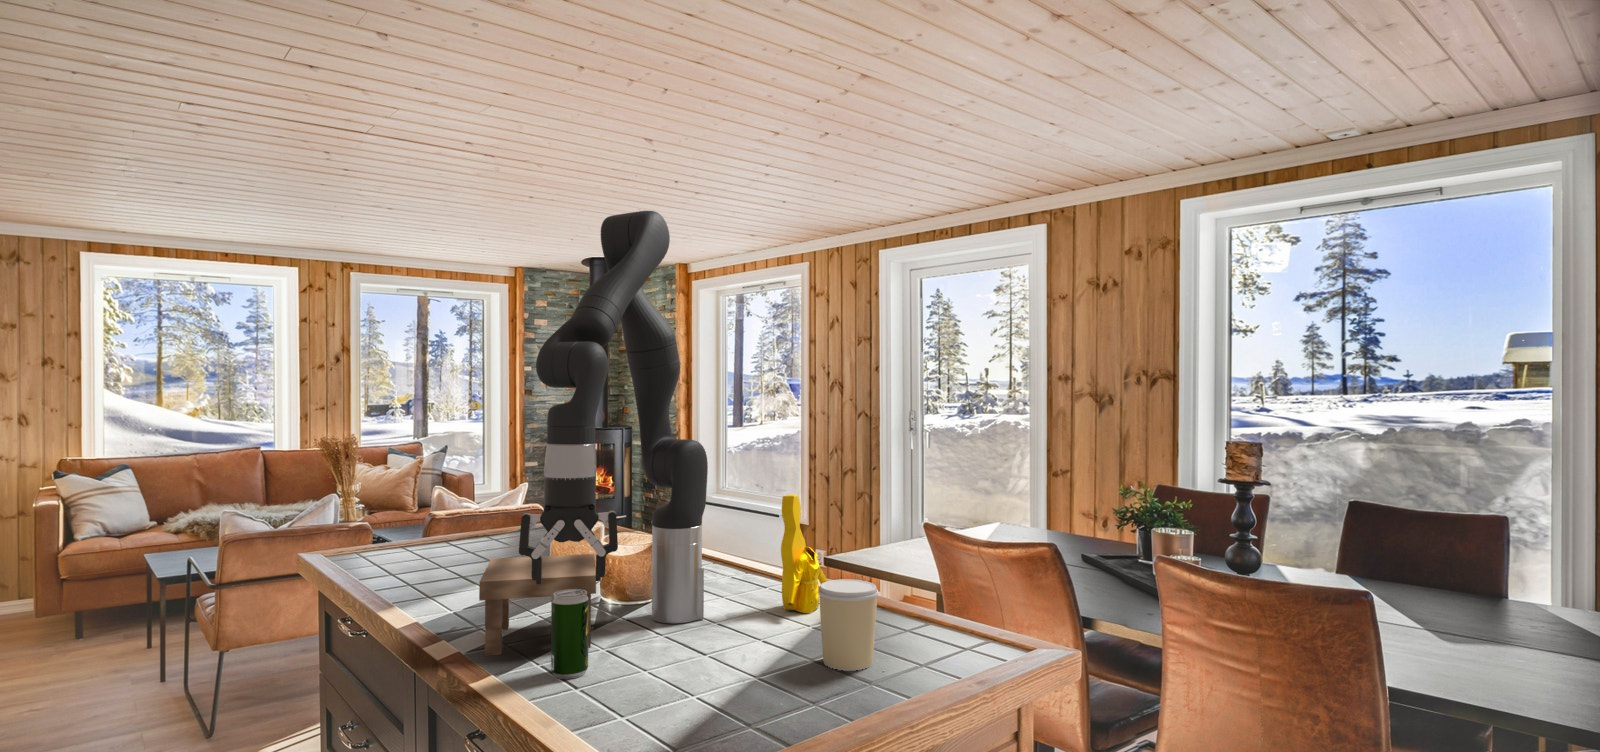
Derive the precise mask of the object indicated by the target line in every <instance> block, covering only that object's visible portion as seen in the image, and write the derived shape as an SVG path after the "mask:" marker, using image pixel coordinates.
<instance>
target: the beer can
mask: <svg viewBox="0 0 1600 752" xmlns="http://www.w3.org/2000/svg"><path fill="white" fill-rule="evenodd" d="M550 610H551V611H550V612H551V613H550V614H551V617H550V618H551V620H550V621H551V625H550V627H551V628H550V629H551V631H550V632H551V633H550V634H551V635H550V637H551V638H550V639H551V640H550V670H551V673H552V676H553V677H554V678H556V679H560V680H569V679H570V680H571V679H576V678H580V677H582V676H584V675H585V674H586V673H587V671H588V669H589V648H588V619H589V598H588V596H587V591H585V590H580V589H568V590H561V591H557V592H555V593H554V594H553V596H552V599H551V609H550Z"/></svg>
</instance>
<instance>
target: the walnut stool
mask: <svg viewBox="0 0 1600 752" xmlns="http://www.w3.org/2000/svg"><path fill="white" fill-rule="evenodd" d="M541 557H542V583H541V584H536V580H532V559H531V558H530V557H528V556H524V557H523V556H521V557H503V558H501V557H499V558H491V559H490V560H489V562H488V565H487V566H486V568H485V570H484V572H483V574H482V576H481V577H480V579H479V584H478V585H479V587H478V588H479V591H478V592H479V593H478V594H479V595H478V596H479V597H478V599H479V601H482V602H483V601H484V656H497V655H499V656H500V655H502V652H503V651H502V650H503V631H505V630H509V628H510V600H512V599H529V598H547V597H553V594H554V593H555V592H557V591H561V590H568V589H580V590H585V591H587V596H588V598H589V619H588V649H589V648H590V649H591V648H592V647H591V646H592V645H591V643H592V642H591V641H592V640H591V639H592V638H591V636H592V634H591V633H592V632H591V631H592V626H591V625H592V624H591V623H592V622H591V621H592V609H591V608H592V602H591V601H592V595H593V594H597V581H596V556H595V553H583V554H565V555H563V554H562V555H545V556H544V555H541Z"/></svg>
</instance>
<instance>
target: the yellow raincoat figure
mask: <svg viewBox="0 0 1600 752" xmlns="http://www.w3.org/2000/svg"><path fill="white" fill-rule="evenodd" d="M801 513H802V506H801V501H800V497H799V494H786V495H782V500H781V516H782V519H783V521H782V522H783V525H784V526H783V527H784V531H783V536H782V540H781V545H780V555H781V562H782V576H781V577H782V579H781V598H782V599H781V600H782V605H783V606H782V607H783V610H785V611H796V612H799V613H803V614H811V613H810V612H812V613H813V612H815V611H816V610H817V608H819V607H820V598H819V593H818V590H819V588H820V586H819V583H820V585H821V584H822V583H824V582H827V581H828V579H827V577H826V575H825V574H824V571H823V570H822V569H821V566H820V564H819V561H818V558H819V555H818V554H817V553H816V552H815V551H814V550H813V548H811V547H810V546H807V545H806V539H805V537H804V535H803V532H802V529H801V525H800V524H801V517H802V515H801ZM814 610H815V611H814Z"/></svg>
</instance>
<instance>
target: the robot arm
mask: <svg viewBox="0 0 1600 752" xmlns="http://www.w3.org/2000/svg"><path fill="white" fill-rule="evenodd" d="M670 235H671V234H670V230H669V226H668V224H667V222H666V220H665V218H664V217H663V216H662V214H660V213H659V212H658V211H655V210H639V211H633V212H625V213H620V214H613V215H609V216H607V217H606V218H604V219H603V221H602V224H601V227H600V242H601V250H602V253H603V258H604V262H605V265H606V269H607V272H605V273H604V274H603V275H602V276H601V277H599V278H598V279H596V281H594V282H593V283H592V284H591V285H590V286H589V287H588V289H586V291H585V293H584V294H583V295H582V297H581V298H580V300H579V302H578V304H577V306H576V308H575V309H574V312H573V313H572V316H571V317H570V318H569V319H568V320H567V321H565V322H564V323H563V324H562V325H561V326H559V328H557V330H555V332H554V333H552V334H551V335H550V336H549V338H547V339H546V341H544V343H543V344H542V346H541V347H540V349H539V351H538V353H537V356H536V360H535V361H536V362H535V370H536V375H537V377H538V379H539V381H540V382H541V383H542V384H543V385H545V386H547V387H550V388H555V389H556V388H557V389H564V388H565V389H574V392H573V395H572V397H571V399H570V400H569V401H567V402H564V403H563V402H562V403H559V404H556V405H552V406H551V407H549V409H548V413H547V419H546V420H547V421H546V422H547V423H546V426H547V427H546V428H547V429H546V431H547V432H546V449H545V455H544V467H543V473H544V475H543V476H544V479H543V480H544V481H543V482H544V483H543V484H544V485H543V491H544V492H543V511H542V513H541V514H540V513H539V514H537V513H536V514H535V513H530V512H524V513H523V514H522V515H521V519H520V520H521V521H520V531H519V533H520V534H519V541H518V542H519V543H518V554H519V555H521V556H524V557H530V558H531V559H532V580H536V584H541V583H542V557H541V556H542V554H543V553H544V552H545V550H546V549H547V548H548V547H550V544H551V543H552V542H553V541H556V542H557V543H566V542H573V543H580V542H581V541H584V540H586V542H587V543H588V544H589V545H590V547H591V548H592V550H594V551H595V553H596V554H595V568H596V582H601V578H605V576H606V557H607V556H608V554H611V553H614V552H617V551H618V550H619V543H618V539H619V538H618V520H617V518H618V517H617V512H616V510H613V509H611V510H609V511H605V512H598V511H597V508H596V503H597V500H596V499H597V497H596V496H597V495H596V494H597V471H598V468H597V453H596V417H597V413H598V408H599V404H600V400H601V397H602V393H603V390H604V387H605V385H606V384H605V383H606V380H607V376H608V373H609V359H608V356H607V352H606V350H605V349H604V347H605V346H606V345H608V344H609V343H610V342H611V340H612V338H613V337H614V334H615V332H616V331H617V329H618V326H619V324H620V323H621V328H622V333H623V339H624V346H625V347H624V348H625V353H626V358H627V363H628V367H629V372H630V377H631V380H632V386H633V393H634V398H635V405H636V410H637V416H638V417H637V418H638V426H639V436H640V437H639V438H640V448H641V449H640V450H641V451H640V452H641V458H642V459H641V460H642V465H643V470H644V475H645V476H646V478H647V480H648V481H649V482H650V484H651V485H653V486H655V487H659V488H660V487H661V488H667V489H671V491H670V492H671V493H670V500H669V501H668V502H667V503H666V504H665V505H663V506H660V507H658V508H655V509H654V510H653V512H652V516H651V517H652V518H651V519H652V520H651V521H652V522H651V523H652V525H651V526H652V527H651V530H652V531H651V532H652V534H651V535H652V536H651V539H652V540H651V541H652V543H651V545H652V547H651V548H652V549H651V558H652V559H651V619H652V620H653V621H655V622H658V623H662V624H686V623H690V622H694V621H698V620H704V614H705V613H704V604H705V603H704V602H705V601H704V599H705V595H704V593H705V591H704V590H705V587H704V585H705V584H704V583H705V576H704V575H705V574H704V572H705V569H704V566H703V565H702V564H703V515H704V512H705V508H706V504H707V492H708V491H707V487H708V473H709V471H708V466H709V465H708V463H709V462H708V455H707V451H706V449H705V446H704V445H702V443H700V442H699V441H697V440H695V439H694V440H693V439H685V438H683V439H681V438H674V437H673V433H672V428H671V420H670V408H671V407H670V406H671V402H672V399H673V397H674V393H675V391H676V387H677V384H678V382H679V378H680V375H681V361H680V354H679V350H678V343H677V338H676V334H675V332H674V330H673V328H672V326H671V325H670V324H669V322H668V321H667V319H666V318H665V317H664V316H663V314H662V313H661V312H660V311H659V309H657V307H656V306H655V305H654V304H653V303H652V301H651V300H650V299H649V298H648V296H647V294H646V293H645V291H644V289H643V286H644V284H645V283H646V282H647V281H648V279H649V278H650V277H651V276H652V274H653V273H654V271H655V270H656V269H657V268H658V267H659V265H660V264H661V263H662V261H663V260H664V258H665V257H666V255H667V253H668V250H669V248H670V247H669V246H670V242H671V241H670ZM599 520H600V521H602V524H603V526H604V527H608V543H606V544H603V543H602V542H601V541H600V539H599V538H598V536H597V535H596V534H595V532H593V528H594V527H595V526H596V524H597V523H598V521H599ZM538 522H540V523H541V525H542V527H543V528H544V529H545V530H546V532H545V534H544V535H543V536H542V537H541V539H540V541H539V542H538V543H537V545H535V547H533V546H530V542H529V541H530V534H531V533H530V532H531V530H533V529H534V528H535V527H536V524H537V523H538Z"/></svg>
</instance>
